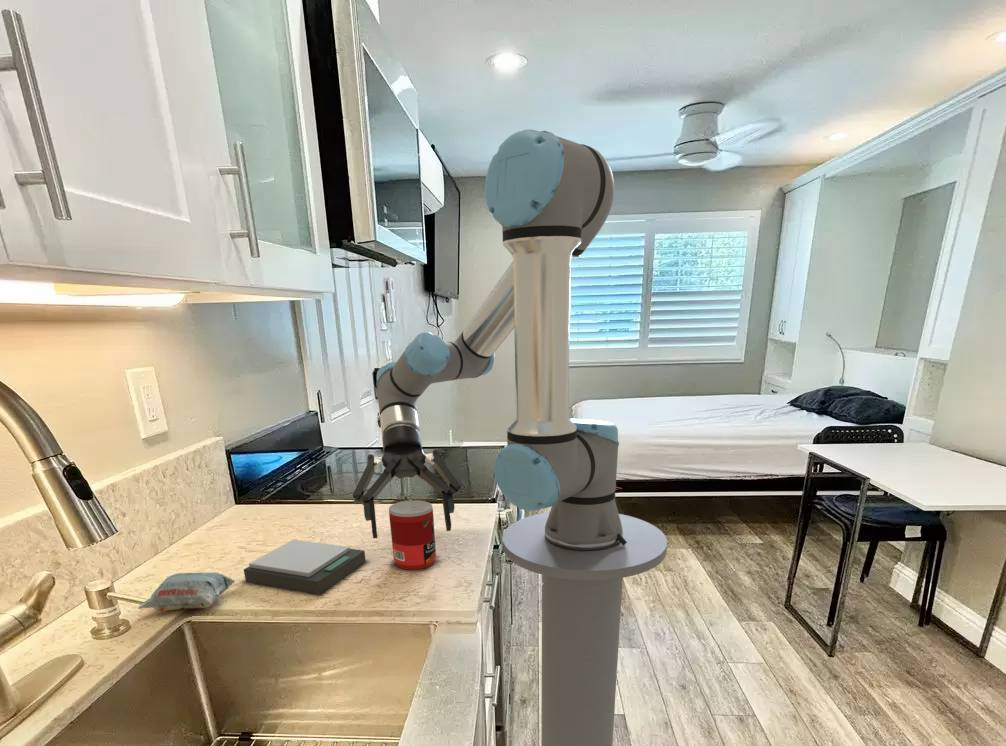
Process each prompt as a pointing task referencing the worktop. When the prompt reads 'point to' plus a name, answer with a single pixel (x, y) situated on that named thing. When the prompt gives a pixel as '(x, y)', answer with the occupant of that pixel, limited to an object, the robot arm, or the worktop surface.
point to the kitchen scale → (304, 566)
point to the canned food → (412, 534)
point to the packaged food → (188, 591)
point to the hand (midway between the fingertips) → (412, 531)
